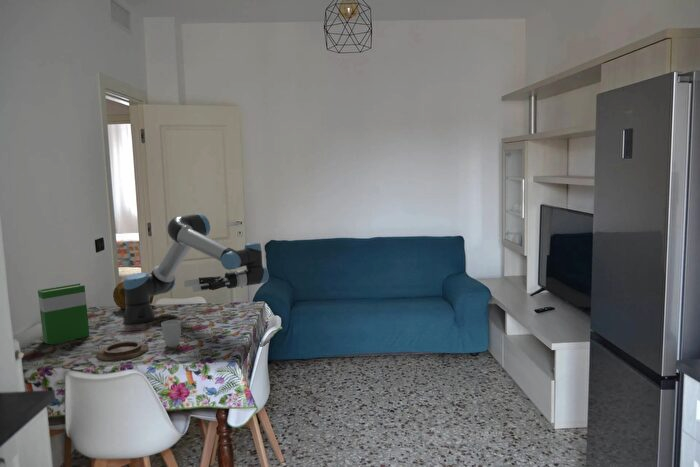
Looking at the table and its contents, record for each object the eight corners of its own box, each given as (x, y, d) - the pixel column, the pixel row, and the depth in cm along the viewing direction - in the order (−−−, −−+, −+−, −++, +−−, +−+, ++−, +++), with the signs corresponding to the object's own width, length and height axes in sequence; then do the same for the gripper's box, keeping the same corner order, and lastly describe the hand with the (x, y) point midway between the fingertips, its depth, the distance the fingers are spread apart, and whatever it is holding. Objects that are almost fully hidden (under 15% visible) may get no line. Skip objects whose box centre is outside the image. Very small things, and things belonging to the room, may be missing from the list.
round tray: (117, 343, 241) (117, 338, 241) (157, 345, 236) (157, 340, 236) (85, 359, 222) (85, 353, 221) (128, 362, 217) (128, 356, 216)
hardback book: (84, 332, 261) (79, 283, 258) (89, 335, 255) (84, 285, 252) (43, 341, 249) (37, 290, 246) (47, 345, 243) (42, 292, 240)
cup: (186, 342, 239) (184, 320, 238) (174, 348, 231) (172, 325, 230) (170, 341, 242) (169, 319, 240) (158, 347, 234) (157, 324, 233)
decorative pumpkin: (113, 305, 309) (113, 270, 307) (152, 303, 318) (152, 269, 315) (113, 315, 291) (113, 278, 289) (154, 312, 299) (155, 277, 297)
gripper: (245, 291, 240) (197, 299, 229) (226, 283, 261) (182, 290, 250) (244, 275, 239) (195, 282, 228) (225, 267, 260) (180, 274, 249)
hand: (188, 286), depth 239 cm, fingers open, 13 cm apart
